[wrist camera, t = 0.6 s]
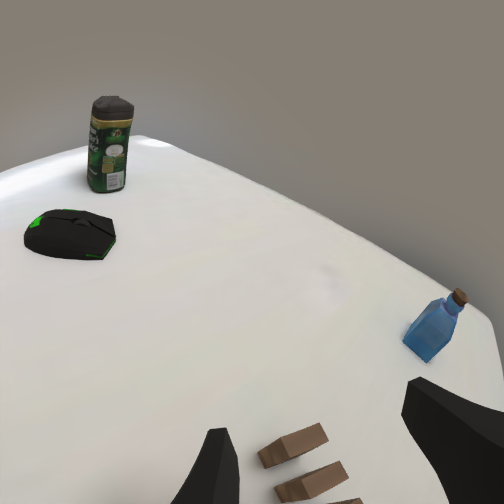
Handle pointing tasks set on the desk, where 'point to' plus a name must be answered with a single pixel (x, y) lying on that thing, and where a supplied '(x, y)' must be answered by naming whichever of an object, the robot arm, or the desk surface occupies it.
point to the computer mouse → (71, 235)
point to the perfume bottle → (435, 325)
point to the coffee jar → (109, 143)
